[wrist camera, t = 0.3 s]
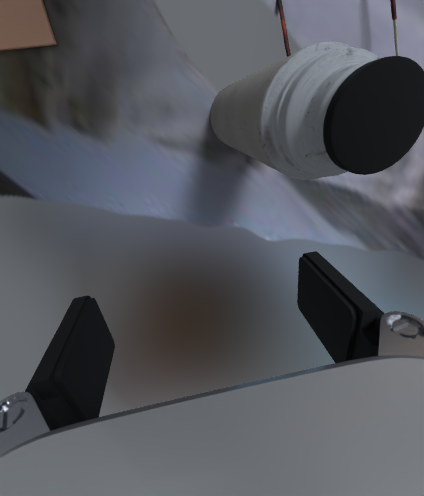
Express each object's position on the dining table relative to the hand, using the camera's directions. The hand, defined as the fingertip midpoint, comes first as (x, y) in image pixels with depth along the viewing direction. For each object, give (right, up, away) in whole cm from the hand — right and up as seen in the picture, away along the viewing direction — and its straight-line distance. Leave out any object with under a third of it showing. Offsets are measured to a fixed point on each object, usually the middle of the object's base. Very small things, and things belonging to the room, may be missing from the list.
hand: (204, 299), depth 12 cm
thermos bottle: (+4, +21, +25) cm, 33 cm away
